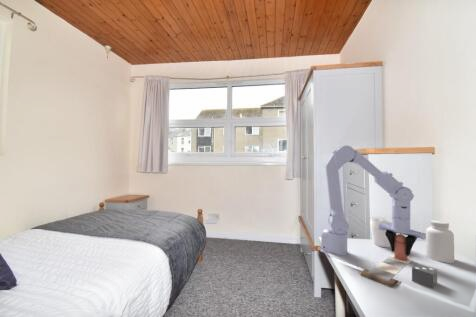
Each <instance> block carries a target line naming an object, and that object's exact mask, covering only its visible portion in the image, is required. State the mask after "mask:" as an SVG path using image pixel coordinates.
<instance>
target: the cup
mask: <svg viewBox="0 0 476 317" xmlns="http://www.w3.org/2000/svg"><path fill="white" fill-rule="evenodd" d="M380 224H383V225H390V226H392V219H390V218H385V217H371V218H370V225H369V226H370V230H371V231H370V232H371V236H372V238H371V239H372V243H373V245H375V246H377V247H381V248H391V246H390V243H389V240H388V238H387V237H386V235H385V233H386V231H385V230H379V225H380Z"/></svg>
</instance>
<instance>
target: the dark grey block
mask: <svg viewBox="0 0 476 317" xmlns="http://www.w3.org/2000/svg"><path fill="white" fill-rule="evenodd" d="M411 281H412V282H414V283H418V284H420V285H422V286H425V287H428V288H431V289H434V288H435V287H436V285H437V284H438V269H436V268H433V267H430V266H426V265H423V264H420V263H416V264H415V265H413V266H412V268H411Z"/></svg>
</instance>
